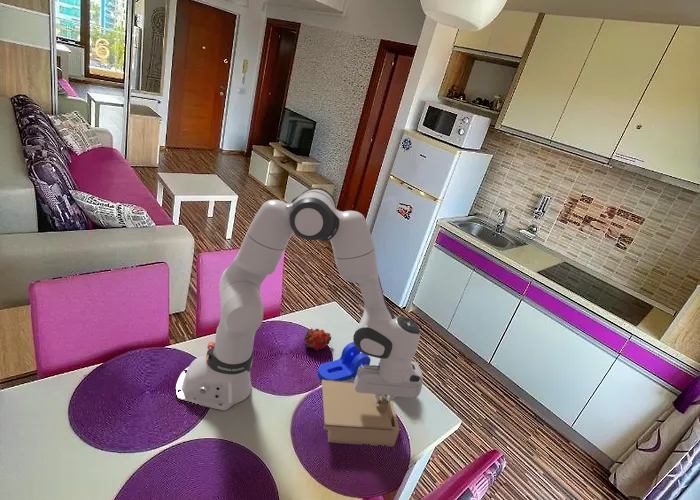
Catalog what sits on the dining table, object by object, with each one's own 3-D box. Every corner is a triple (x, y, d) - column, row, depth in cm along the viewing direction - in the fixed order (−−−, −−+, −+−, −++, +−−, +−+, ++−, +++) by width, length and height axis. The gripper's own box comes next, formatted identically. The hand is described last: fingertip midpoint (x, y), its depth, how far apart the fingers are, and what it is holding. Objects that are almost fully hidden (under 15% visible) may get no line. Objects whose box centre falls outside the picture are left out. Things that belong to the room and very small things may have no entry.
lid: (323, 429, 113) (327, 415, 111) (320, 383, 129) (324, 370, 127) (391, 434, 117) (396, 420, 115) (380, 389, 133) (384, 376, 131)
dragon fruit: (298, 351, 152) (325, 350, 159) (309, 352, 146) (337, 351, 152) (298, 328, 154) (325, 328, 161) (310, 328, 147) (337, 328, 154)
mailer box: (328, 442, 117) (333, 425, 114) (325, 400, 131) (329, 384, 128) (393, 446, 121) (399, 429, 118) (383, 405, 135) (389, 389, 132)
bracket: (354, 359, 153) (359, 340, 150) (366, 374, 147) (372, 354, 144) (313, 370, 143) (318, 350, 139) (324, 386, 137) (330, 366, 133)
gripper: (360, 371, 113) (349, 408, 118) (428, 378, 117) (414, 413, 122) (357, 356, 119) (347, 392, 124) (422, 363, 123) (409, 397, 128)
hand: (381, 402), depth 123 cm, fingers closed on lid
